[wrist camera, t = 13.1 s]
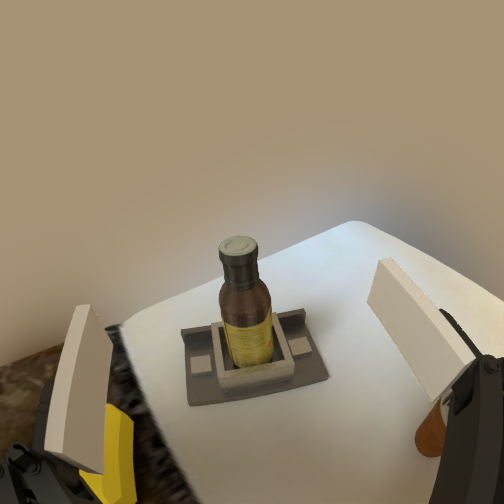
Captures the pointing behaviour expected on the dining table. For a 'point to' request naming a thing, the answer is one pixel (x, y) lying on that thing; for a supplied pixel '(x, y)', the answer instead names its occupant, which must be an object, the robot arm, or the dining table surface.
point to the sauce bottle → (245, 304)
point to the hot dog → (115, 461)
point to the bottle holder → (256, 377)
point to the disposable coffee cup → (433, 429)
